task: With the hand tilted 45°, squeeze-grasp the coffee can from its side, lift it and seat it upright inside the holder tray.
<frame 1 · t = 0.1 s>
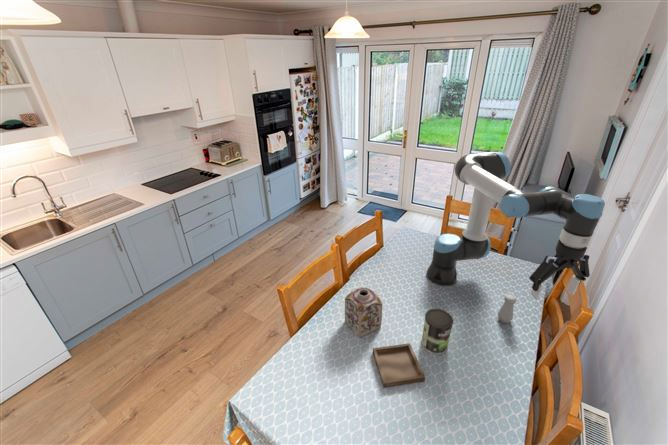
hand: (552, 294, 108), 28 cm above the table, tool pointing down, fingers open, 13 cm apart
salt shaker: (503, 320, 135), on the table
decorative jar: (362, 324, 135), on the table
coffee can: (434, 344, 125), on the table
holder tray: (397, 366, 116), on the table
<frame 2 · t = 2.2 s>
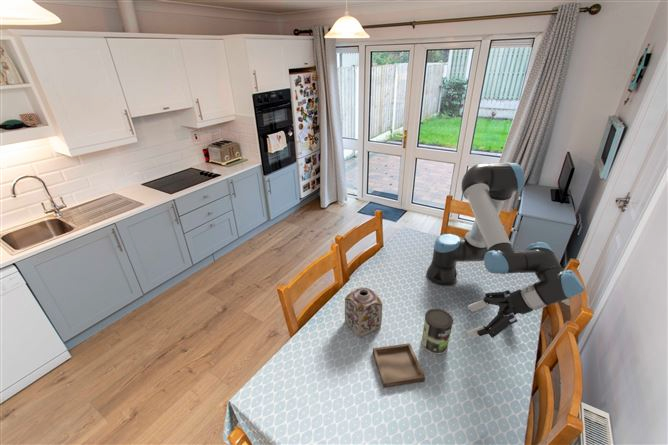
hand: (469, 321, 114), 16 cm above the table, tool tilted 45°, fingers open, 13 cm apart
nothing on the table moved.
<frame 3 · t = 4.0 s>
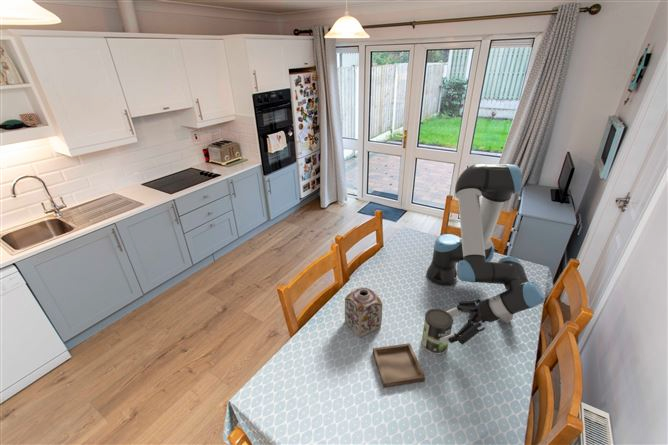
hand: (443, 328, 119), 9 cm above the table, tool tilted 45°, fingers open, 13 cm apart
nothing on the table moved.
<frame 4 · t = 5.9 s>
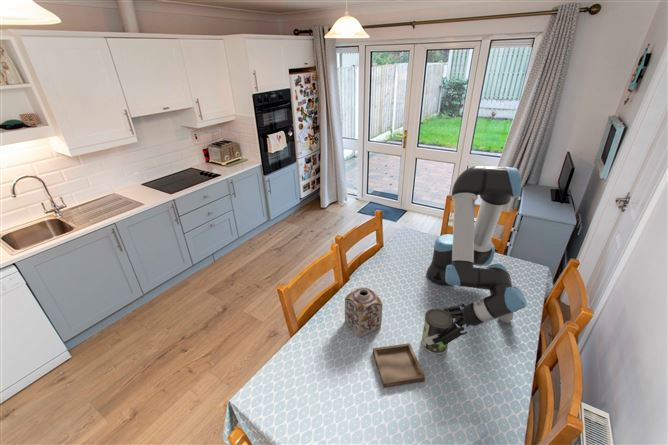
hand: (428, 331, 123), 6 cm above the table, tool tilted 45°, fingers closed on coffee can, 10 cm apart
coffee can: (434, 344, 125), on the table, touching gripper
everything else where it was.
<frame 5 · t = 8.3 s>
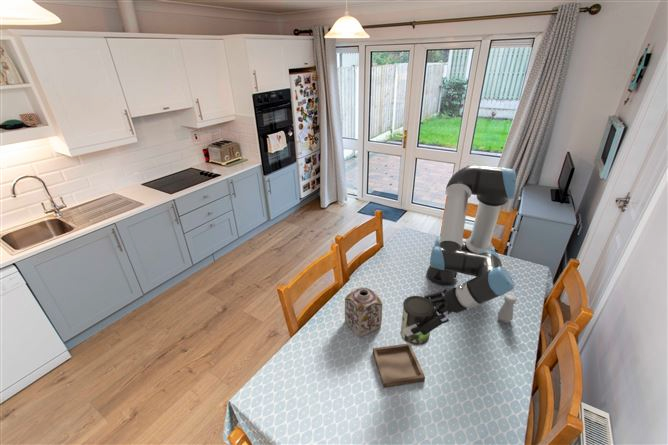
hand: (407, 321, 111), 19 cm above the table, tool tilted 45°, fingers closed on coffee can, 10 cm apart
coffee can: (414, 335, 112), point 13 cm above the table, touching gripper
everything else where it was.
when the fingers open (8 cm above the table, at t = 11.2 s): coffee can drops 2 cm, resting on holder tray.
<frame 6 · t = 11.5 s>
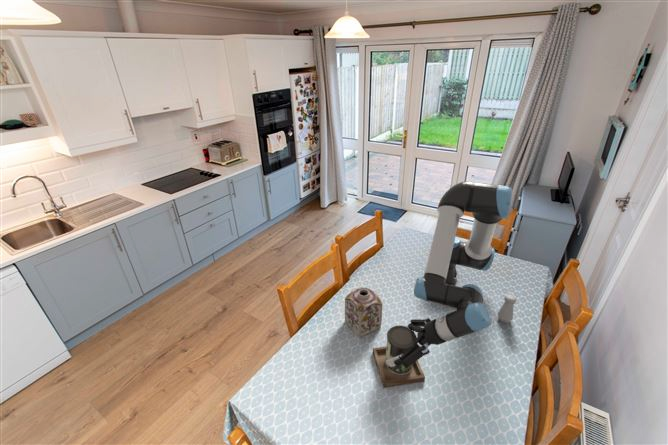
hand: (392, 348, 113), 9 cm above the table, tool tilted 45°, fingers open, 13 cm apart
coffee can: (398, 363, 116), point 1 cm above the table, touching holder tray
everything else where it was.
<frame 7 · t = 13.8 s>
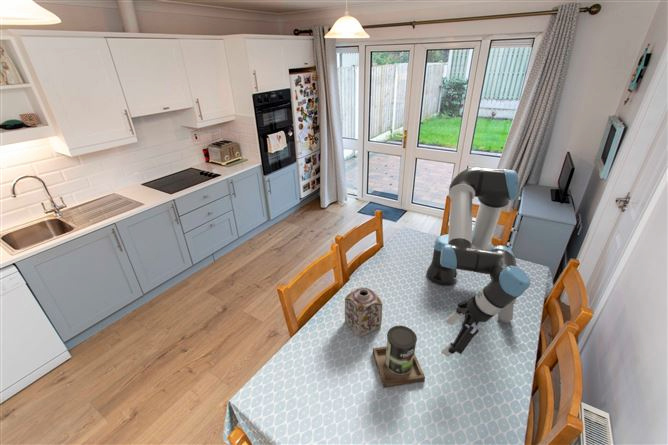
hand: (446, 337, 109), 15 cm above the table, tool tilted 25°, fingers open, 13 cm apart
nothing on the table moved.
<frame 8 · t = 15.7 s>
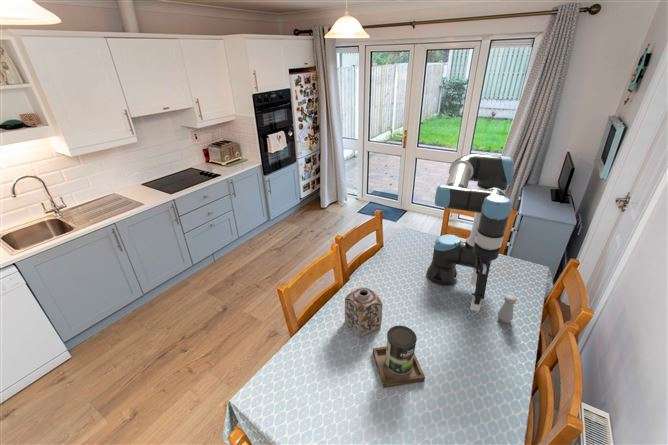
hand: (474, 296, 107), 29 cm above the table, tool pointing down, fingers open, 13 cm apart
nothing on the table moved.
at the end: coffee can inside the target area on the holder tray (1.1 cm from its centre), point 0.6 cm above the holder tray's base; coffee can tilted 0°; the gripper is holding nothing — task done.
